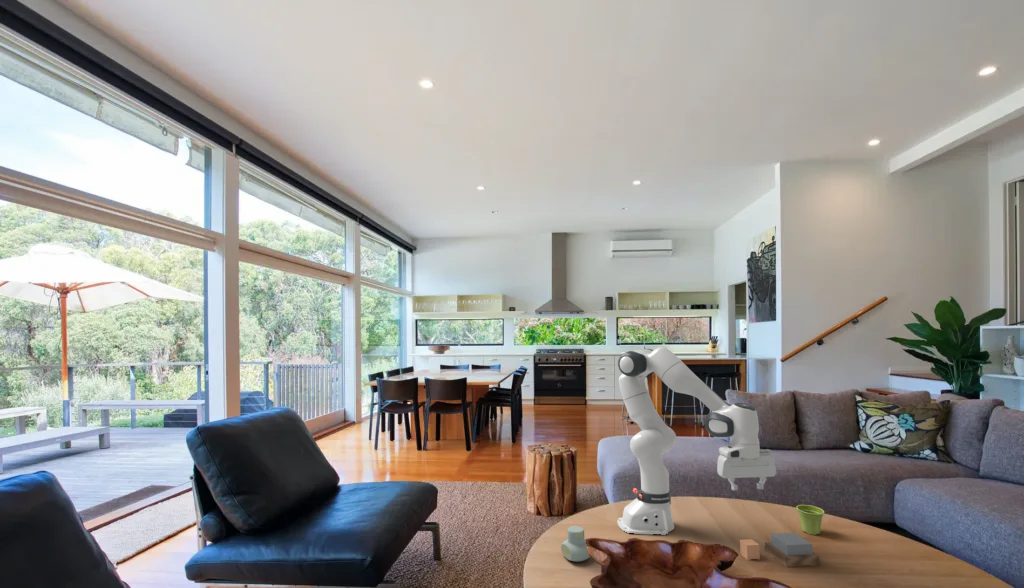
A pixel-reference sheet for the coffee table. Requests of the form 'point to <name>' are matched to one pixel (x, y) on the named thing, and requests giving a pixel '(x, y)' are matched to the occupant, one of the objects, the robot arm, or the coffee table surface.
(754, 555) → the rust cube
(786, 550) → the upper tower block
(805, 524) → the plant pot
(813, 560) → the lower tower block
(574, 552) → the air freshener
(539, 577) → the coffee table surface
